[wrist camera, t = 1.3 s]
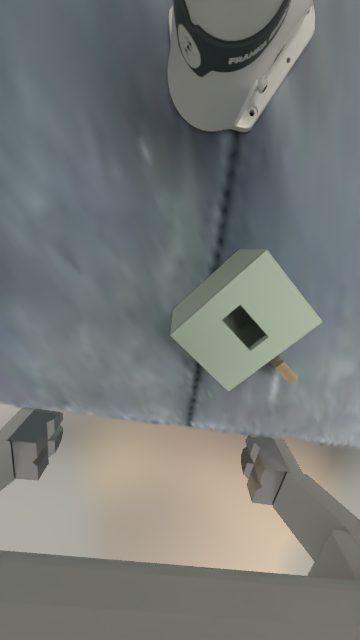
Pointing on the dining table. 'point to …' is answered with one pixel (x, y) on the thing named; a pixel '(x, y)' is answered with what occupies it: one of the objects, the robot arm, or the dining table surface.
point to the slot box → (242, 317)
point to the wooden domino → (283, 369)
